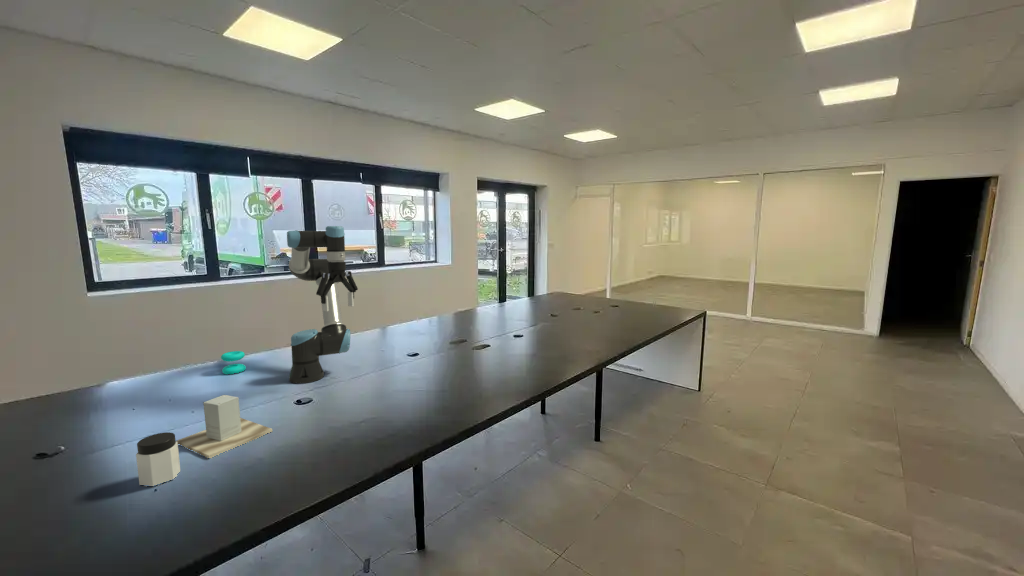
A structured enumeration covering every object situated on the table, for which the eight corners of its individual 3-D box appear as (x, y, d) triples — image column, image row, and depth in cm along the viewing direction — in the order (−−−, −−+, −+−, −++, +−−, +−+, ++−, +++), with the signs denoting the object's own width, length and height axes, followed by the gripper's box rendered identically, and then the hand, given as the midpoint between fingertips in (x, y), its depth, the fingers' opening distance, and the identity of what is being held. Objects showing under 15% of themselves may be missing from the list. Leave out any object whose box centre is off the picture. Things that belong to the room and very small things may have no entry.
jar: (177, 466, 122) (173, 428, 120) (183, 477, 117) (179, 437, 115) (137, 480, 115) (132, 440, 113) (142, 491, 110) (137, 450, 108)
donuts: (233, 356, 200) (215, 355, 202) (235, 375, 202) (217, 374, 203) (249, 350, 210) (232, 349, 211) (250, 369, 211) (233, 368, 213)
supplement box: (242, 431, 141) (239, 397, 139) (220, 441, 134) (217, 405, 133) (227, 428, 144) (224, 394, 142) (205, 437, 137) (202, 401, 135)
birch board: (176, 444, 135) (175, 440, 135) (239, 420, 153) (239, 417, 152) (209, 459, 126) (209, 455, 126) (272, 432, 144) (272, 428, 143)
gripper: (317, 263, 167) (320, 313, 170) (364, 260, 189) (366, 305, 192) (305, 262, 170) (308, 312, 173) (352, 259, 193) (354, 303, 195)
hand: (338, 308), depth 182 cm, fingers open, 13 cm apart
